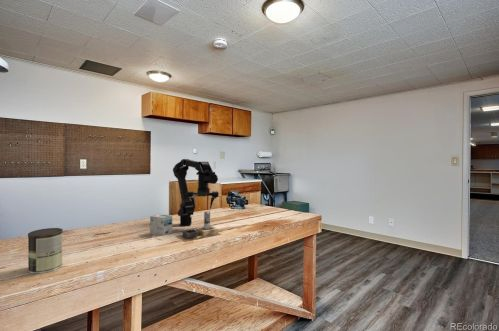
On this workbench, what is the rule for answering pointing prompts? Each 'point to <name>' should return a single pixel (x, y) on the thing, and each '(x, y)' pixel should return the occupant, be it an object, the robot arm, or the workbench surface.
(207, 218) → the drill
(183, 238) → the socket rack board
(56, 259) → the coffee can
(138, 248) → the workbench surface
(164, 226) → the light bulb box
